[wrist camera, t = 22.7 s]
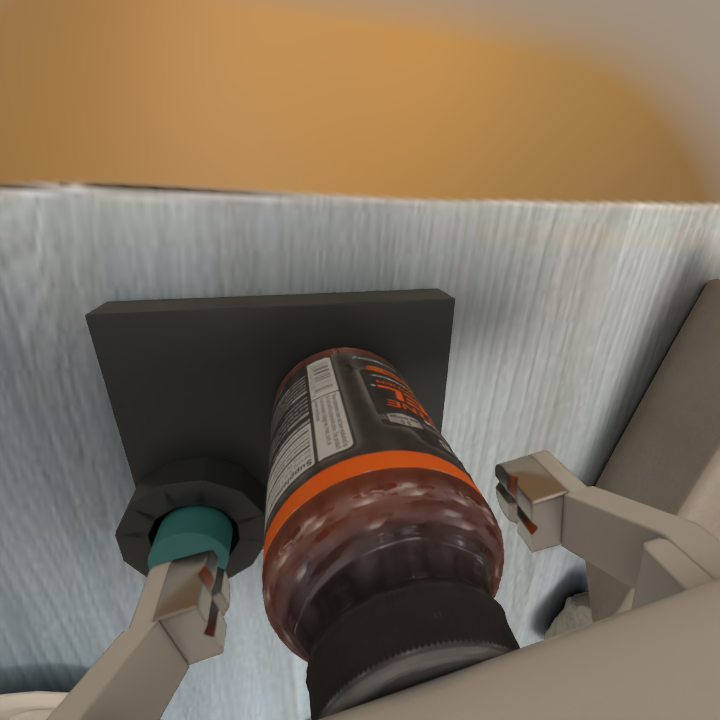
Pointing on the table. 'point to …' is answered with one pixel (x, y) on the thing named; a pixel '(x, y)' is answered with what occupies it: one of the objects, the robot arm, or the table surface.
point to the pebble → (571, 615)
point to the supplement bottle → (374, 537)
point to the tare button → (192, 535)
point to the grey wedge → (671, 443)
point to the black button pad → (240, 391)
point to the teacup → (29, 705)
